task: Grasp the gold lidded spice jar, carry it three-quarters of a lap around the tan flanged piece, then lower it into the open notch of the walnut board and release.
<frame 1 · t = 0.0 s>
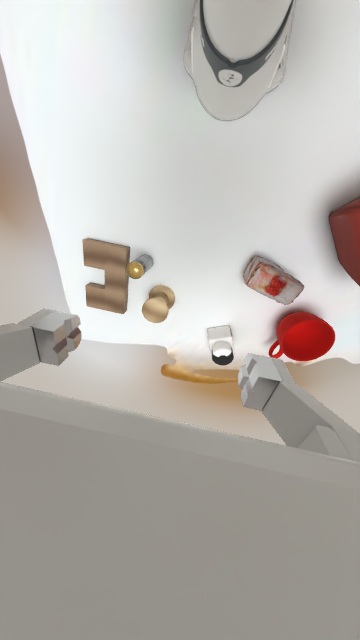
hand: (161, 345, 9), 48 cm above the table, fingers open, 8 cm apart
gold lidded spice jar: (146, 261, 56), on the table
tan flanged piece: (162, 297, 60), on the table
ceramic cup: (286, 327, 60), on the table
food item: (266, 275, 54), on the table
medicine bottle: (219, 335, 65), on the table
notch board: (109, 277, 59), on the table
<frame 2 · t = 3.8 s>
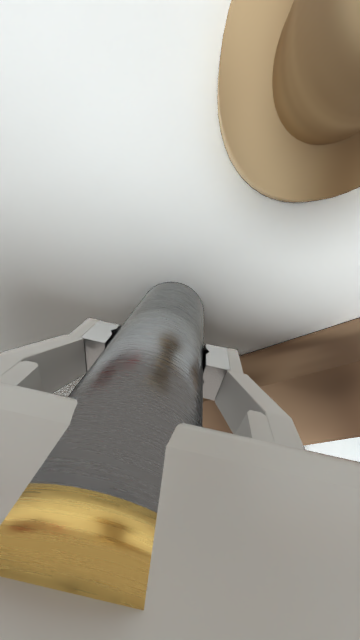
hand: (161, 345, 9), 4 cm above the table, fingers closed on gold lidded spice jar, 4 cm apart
gold lidded spice jar: (172, 312, 12), on the table, touching gripper
tan flanged piece: (327, 76, 7), on the table
notch board: (325, 397, 14), on the table
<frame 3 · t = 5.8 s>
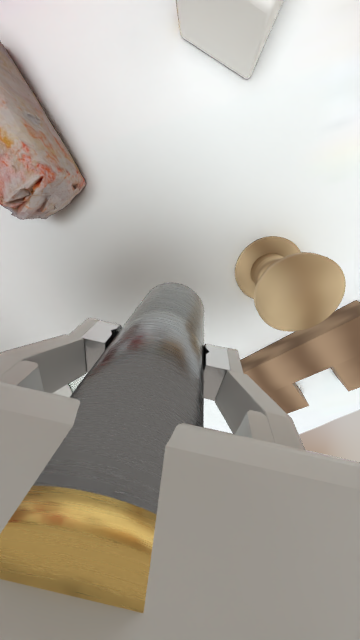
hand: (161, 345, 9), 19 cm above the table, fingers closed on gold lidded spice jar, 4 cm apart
gold lidded spice jar: (173, 312, 12), point 16 cm above the table, touching gripper
tan flanged piece: (266, 269, 25), on the table
food item: (38, 147, 22), on the table
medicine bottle: (236, 2, 16), on the table
notch board: (302, 362, 32), on the table
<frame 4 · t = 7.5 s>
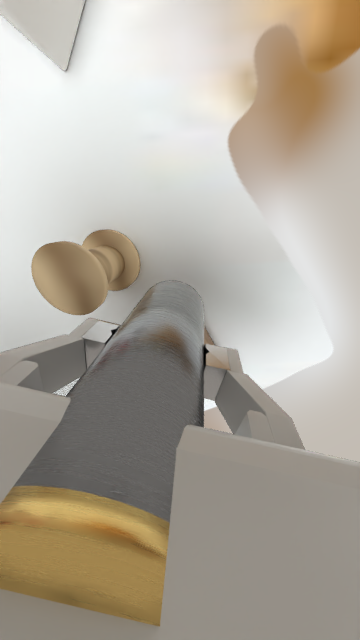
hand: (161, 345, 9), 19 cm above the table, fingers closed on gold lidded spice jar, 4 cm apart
gold lidded spice jar: (172, 311, 12), point 15 cm above the table, touching gripper
tan flanged piece: (112, 261, 27), on the table
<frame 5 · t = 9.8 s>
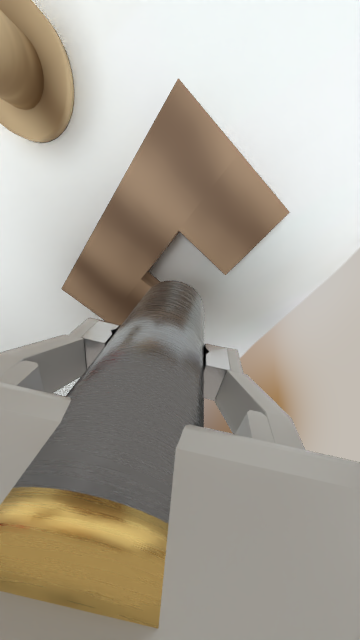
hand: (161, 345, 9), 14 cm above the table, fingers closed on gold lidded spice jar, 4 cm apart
gold lidded spice jar: (172, 311, 12), point 11 cm above the table, touching gripper
tan flanged piece: (26, 78, 16), on the table
notch board: (163, 251, 21), on the table
when the fingers open (6 cm above the table, at t = 11.6 s): gold lidded spice jar drops 2 cm, on the table.
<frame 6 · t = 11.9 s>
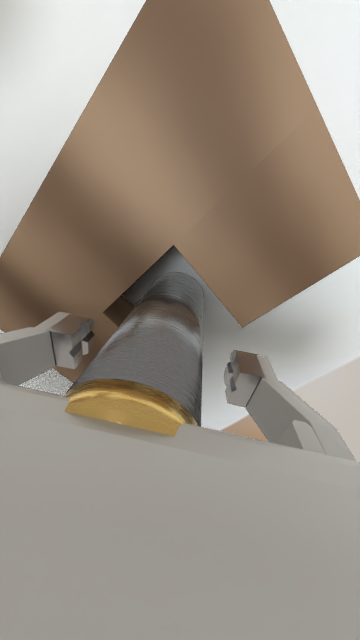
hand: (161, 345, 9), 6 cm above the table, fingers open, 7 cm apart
gold lidded spice jar: (176, 299, 14), on the table
notch board: (148, 269, 13), on the table
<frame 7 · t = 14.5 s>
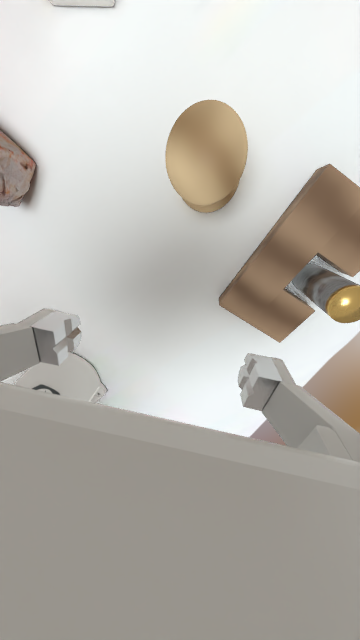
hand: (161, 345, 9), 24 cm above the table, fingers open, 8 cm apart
gold lidded spice jar: (306, 276, 29), on the table
tan flanged piece: (208, 177, 25), on the table
notch board: (291, 266, 29), on the table
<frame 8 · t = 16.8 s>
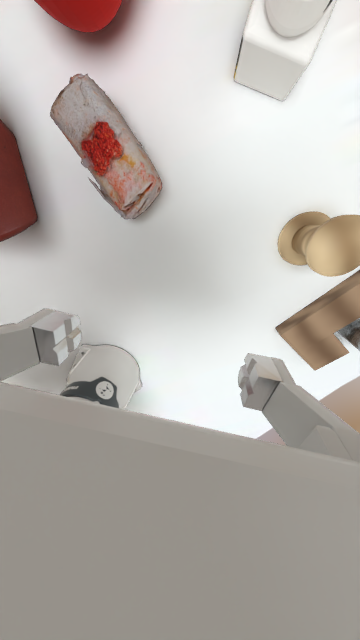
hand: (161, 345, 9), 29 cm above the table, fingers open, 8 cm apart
gold lidded spice jar: (347, 325, 38), on the table
tan flanged piece: (303, 239, 32), on the table
food item: (126, 167, 30), on the table
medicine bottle: (272, 52, 23), on the table
notch board: (339, 316, 37), on the table
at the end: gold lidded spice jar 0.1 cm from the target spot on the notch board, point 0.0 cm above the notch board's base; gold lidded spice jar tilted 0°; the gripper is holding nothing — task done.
